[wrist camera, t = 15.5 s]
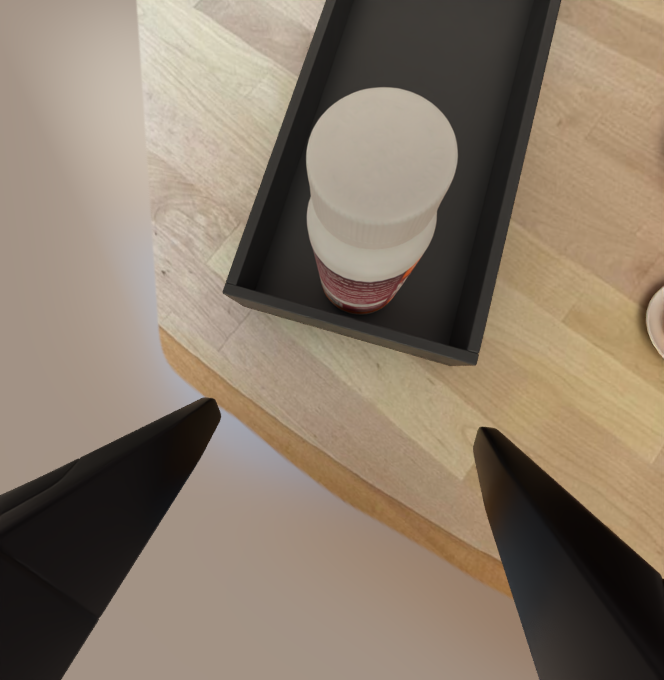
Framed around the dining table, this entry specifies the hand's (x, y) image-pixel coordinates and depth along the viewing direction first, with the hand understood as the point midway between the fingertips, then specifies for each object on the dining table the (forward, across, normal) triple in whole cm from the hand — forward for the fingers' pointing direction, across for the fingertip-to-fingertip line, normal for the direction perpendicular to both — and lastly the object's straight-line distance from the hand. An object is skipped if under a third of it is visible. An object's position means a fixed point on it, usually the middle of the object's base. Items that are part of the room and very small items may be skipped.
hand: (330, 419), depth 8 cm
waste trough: (+23, -3, -14) cm, 27 cm away
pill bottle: (+14, +1, -2) cm, 14 cm away
